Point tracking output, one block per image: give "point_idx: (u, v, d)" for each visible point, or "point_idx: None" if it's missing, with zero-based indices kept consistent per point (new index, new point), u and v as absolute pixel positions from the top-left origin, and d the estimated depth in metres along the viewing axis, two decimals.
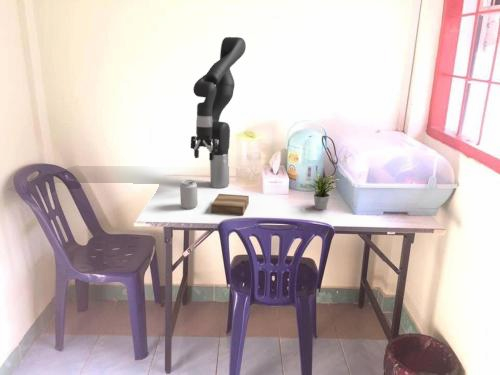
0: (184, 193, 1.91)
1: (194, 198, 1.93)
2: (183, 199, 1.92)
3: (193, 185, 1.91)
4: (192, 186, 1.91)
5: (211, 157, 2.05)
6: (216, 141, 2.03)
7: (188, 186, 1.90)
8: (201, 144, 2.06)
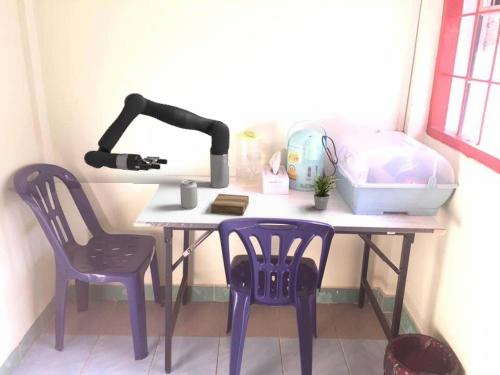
0: (184, 193, 1.91)
1: (194, 198, 1.93)
2: (183, 199, 1.92)
3: (193, 185, 1.91)
4: (192, 186, 1.91)
5: (156, 168, 1.88)
6: (137, 166, 1.87)
7: (188, 186, 1.90)
8: None
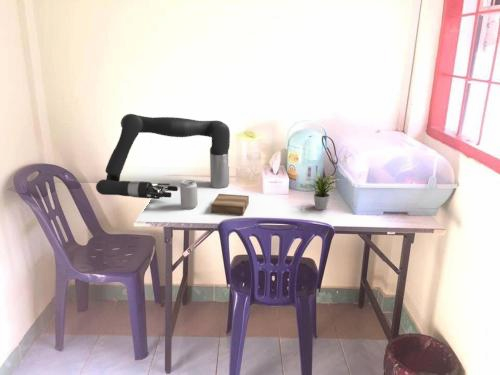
0: (184, 193, 1.91)
1: (194, 198, 1.93)
2: (183, 199, 1.92)
3: (193, 185, 1.91)
4: (192, 186, 1.91)
5: (167, 196, 1.92)
6: (148, 194, 1.91)
7: (188, 186, 1.90)
8: None
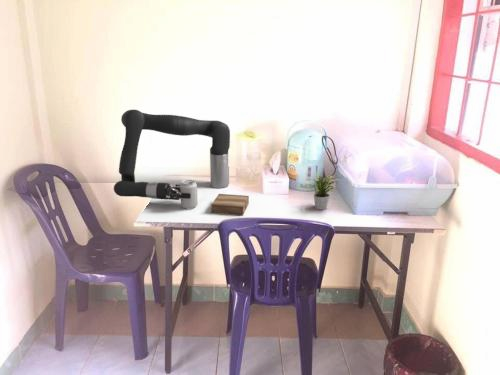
0: None
1: (194, 198, 1.93)
2: (183, 199, 1.92)
3: (193, 185, 1.91)
4: (192, 186, 1.91)
5: (186, 198, 1.90)
6: (167, 196, 1.89)
7: (188, 186, 1.90)
8: None
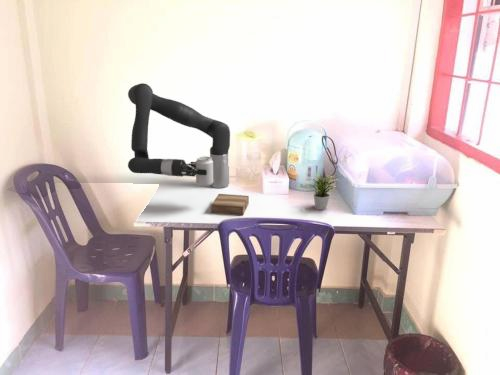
0: None
1: (210, 175, 1.89)
2: (199, 176, 1.88)
3: (209, 161, 1.87)
4: (208, 162, 1.87)
5: (202, 174, 1.86)
6: (183, 172, 1.85)
7: (204, 162, 1.86)
8: None
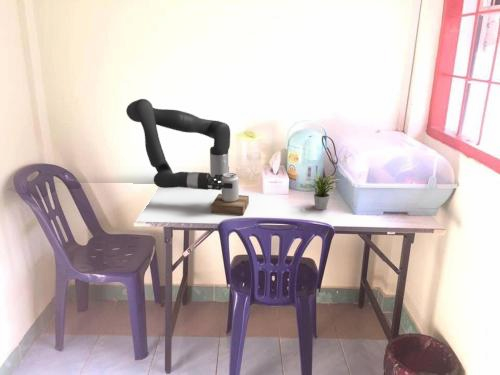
0: None
1: (236, 191, 1.90)
2: (225, 192, 1.90)
3: (235, 178, 1.88)
4: (234, 179, 1.88)
5: (228, 188, 1.87)
6: (209, 185, 1.86)
7: (230, 179, 1.87)
8: None
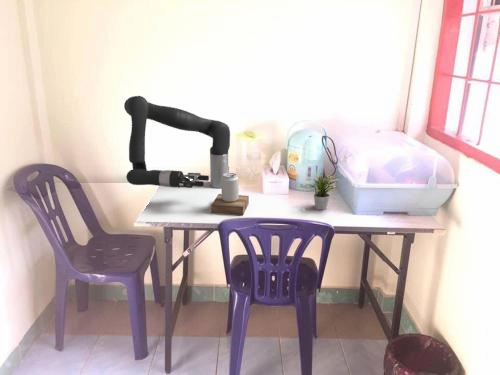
0: (225, 186, 1.88)
1: (236, 191, 1.90)
2: (225, 192, 1.90)
3: (235, 178, 1.88)
4: (234, 179, 1.88)
5: None
6: (181, 183, 1.88)
7: (230, 179, 1.87)
8: None
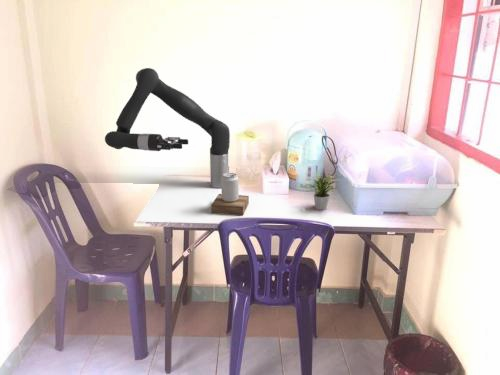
0: (225, 186, 1.88)
1: (236, 191, 1.90)
2: (225, 192, 1.90)
3: (235, 178, 1.88)
4: (234, 179, 1.88)
5: (177, 148, 1.87)
6: (159, 145, 1.86)
7: (230, 179, 1.87)
8: None
